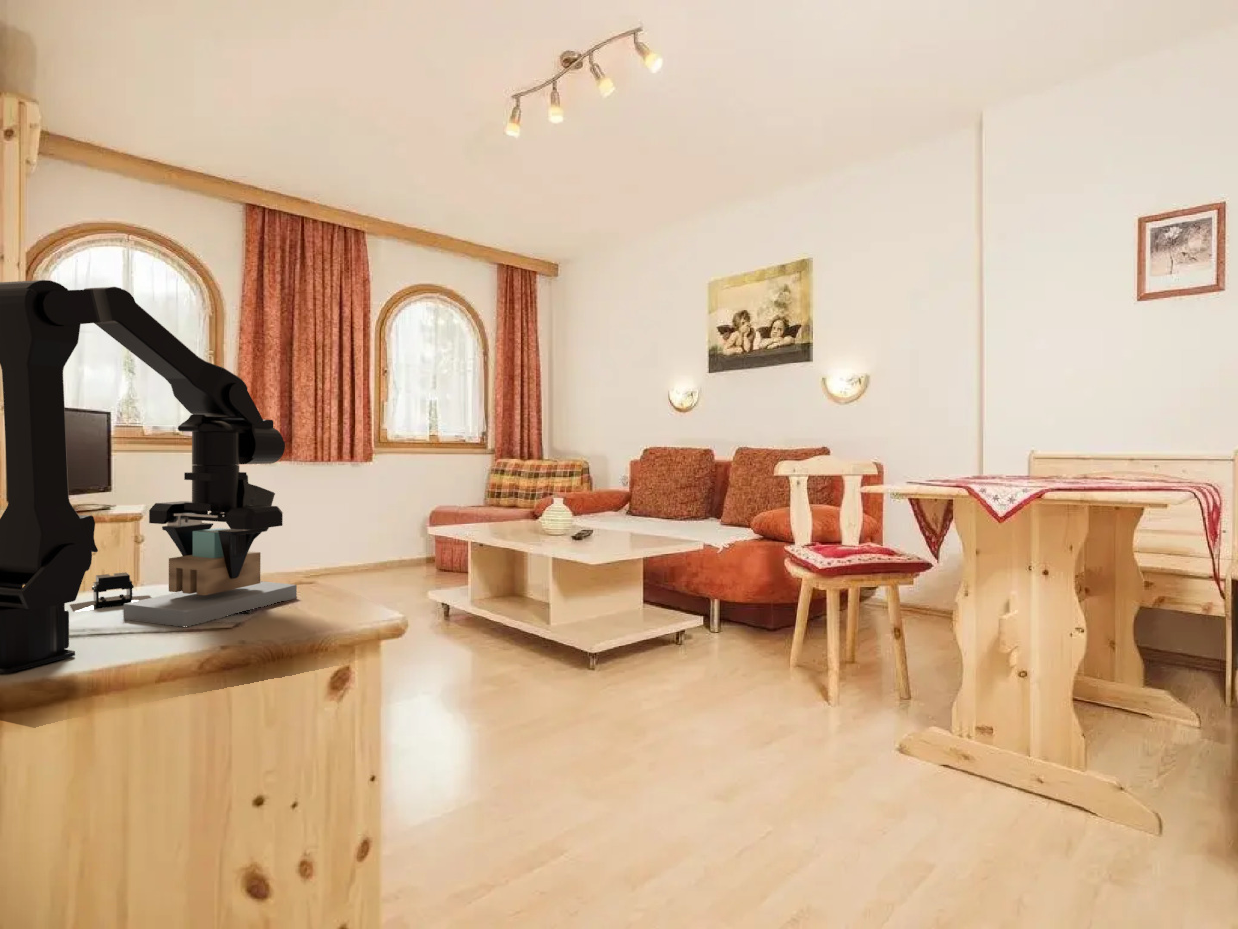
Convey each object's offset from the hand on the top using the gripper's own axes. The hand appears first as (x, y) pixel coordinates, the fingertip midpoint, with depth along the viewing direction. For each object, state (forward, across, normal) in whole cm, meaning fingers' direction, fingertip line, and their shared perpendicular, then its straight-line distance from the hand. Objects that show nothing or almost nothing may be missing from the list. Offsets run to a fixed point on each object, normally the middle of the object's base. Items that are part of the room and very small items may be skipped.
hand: (215, 576), depth 95 cm
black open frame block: (+5, +16, +3) cm, 17 cm away
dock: (+4, 0, 0) cm, 4 cm away
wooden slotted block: (+2, 0, 0) cm, 2 cm away
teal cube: (-3, 0, 0) cm, 3 cm away
